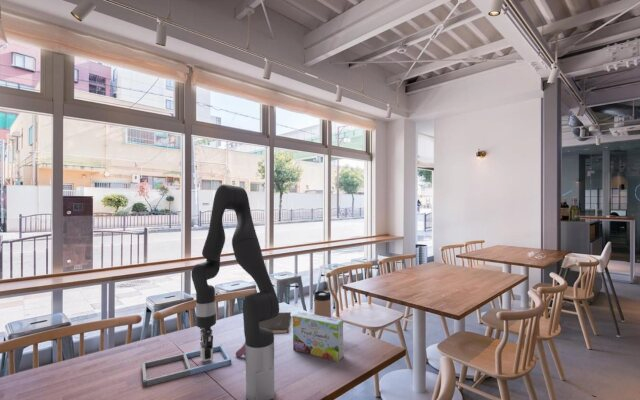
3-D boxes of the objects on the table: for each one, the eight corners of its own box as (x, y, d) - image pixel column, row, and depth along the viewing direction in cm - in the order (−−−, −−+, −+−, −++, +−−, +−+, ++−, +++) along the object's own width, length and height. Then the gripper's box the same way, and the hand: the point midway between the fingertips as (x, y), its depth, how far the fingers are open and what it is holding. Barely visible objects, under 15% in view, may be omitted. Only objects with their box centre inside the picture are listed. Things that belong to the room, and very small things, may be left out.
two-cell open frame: (231, 364, 129) (231, 359, 129) (143, 386, 114) (143, 381, 114) (221, 348, 142) (221, 344, 142) (142, 367, 127) (141, 362, 127)
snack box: (292, 351, 140) (291, 315, 139) (299, 345, 144) (298, 310, 144) (338, 362, 130) (338, 323, 129) (344, 356, 135) (343, 318, 134)
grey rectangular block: (212, 358, 131) (212, 343, 131) (202, 361, 129) (202, 346, 129) (210, 354, 134) (210, 339, 134) (200, 357, 132) (200, 342, 132)
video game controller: (243, 361, 134) (250, 346, 133) (233, 355, 134) (241, 341, 134) (252, 350, 144) (259, 336, 143) (243, 345, 144) (250, 331, 144)
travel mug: (316, 341, 149) (316, 296, 148) (312, 334, 156) (312, 291, 156) (333, 338, 151) (332, 294, 150) (328, 332, 158) (327, 290, 158)
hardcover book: (290, 316, 181) (290, 312, 181) (287, 334, 158) (287, 329, 158) (261, 317, 180) (261, 312, 180) (253, 334, 157) (253, 330, 157)
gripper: (219, 316, 127) (220, 361, 127) (211, 306, 139) (212, 346, 140) (199, 320, 123) (199, 366, 123) (192, 309, 136) (193, 351, 136)
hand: (206, 355), depth 131 cm, fingers closed on grey rectangular block, 4 cm apart
